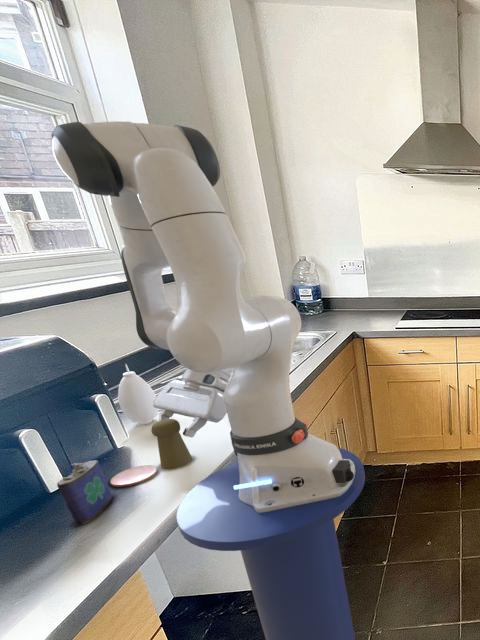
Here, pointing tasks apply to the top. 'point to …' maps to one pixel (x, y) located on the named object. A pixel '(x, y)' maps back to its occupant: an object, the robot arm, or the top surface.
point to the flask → (85, 491)
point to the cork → (170, 444)
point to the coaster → (133, 476)
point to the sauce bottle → (136, 398)
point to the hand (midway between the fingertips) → (173, 432)
